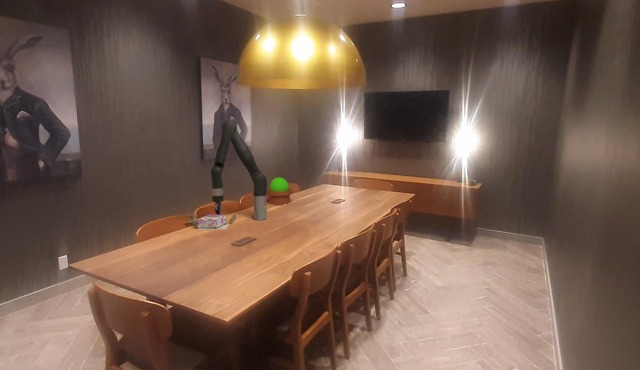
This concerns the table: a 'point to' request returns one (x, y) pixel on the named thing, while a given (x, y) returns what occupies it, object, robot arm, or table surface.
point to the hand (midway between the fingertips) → (218, 218)
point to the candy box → (212, 221)
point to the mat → (216, 228)
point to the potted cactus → (279, 192)
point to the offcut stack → (193, 220)
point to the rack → (230, 218)
